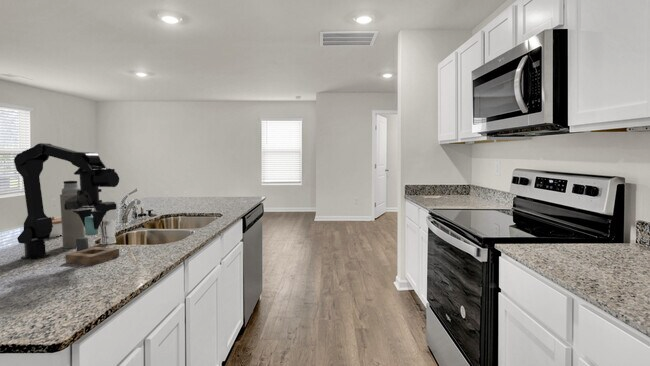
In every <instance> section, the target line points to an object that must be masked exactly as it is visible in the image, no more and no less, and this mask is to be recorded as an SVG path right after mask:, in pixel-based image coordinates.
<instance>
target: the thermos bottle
mask: <svg viewBox="0 0 650 366" xmlns="http://www.w3.org/2000/svg"><path fill="white" fill-rule="evenodd" d="M78 190H80V187H79V185H78V181H77V180H66V181H63V188H62V189H61V194H59V201H60V203H59V204H60V217H61V220H62V248H63V249H74V248H76V239H77V238H83V237H86V235H85V227H84V224H83V222H82V220H81V218H80V216H79V215H78V214H76V213H75V212H73V211H74V209H71V210H65V208H64V204H65V200H67V199H69V198H71V197H73V196H76V195H77V191H78Z"/></svg>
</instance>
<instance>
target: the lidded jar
mask: <svg viewBox="0 0 650 366" xmlns="http://www.w3.org/2000/svg"><path fill="white" fill-rule="evenodd" d="M51 218H52V225H53V227H52V232H51V233H50V237H49V238H57V237H56V236H59V237H61V236H60V235H62V220H61V218H60V217H59V218H55V217H54V216H52V217H51Z"/></svg>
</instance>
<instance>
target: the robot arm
mask: <svg viewBox="0 0 650 366" xmlns="http://www.w3.org/2000/svg"><path fill="white" fill-rule="evenodd" d="M99 155H100V154H98V153H97V152H90V151H89V152H88V151H87V152H85V151H76V150H72V149H68V148H64V147H61V146H57V145H54V144H51V143H45V142H44V143H42V142H40V143H37V144H36V145H34V146H32V147H30V148H27V149H26V150H23V151H22V152H19V153H17V154H16V155H15V156H14V158H13V162H14V166H15V169H16V171H17V172H18V174H19V175H20V176H21V178H22V183H23V189H24V196H25V205H26V212H27V215H26V217H25V220H24V222H23V230H22V232H21V233H20V234H19V235H18V236H17V242H18V244H24V256H23V255H22V256H21V257H20V259H24V260H26V259H27V260H36V259H40V258H44V257H48V256H50V253H47V252H46V250H47V249H46V244H45V243H46V241H45V240H49V239H50V238H51V237H50V233H51V232H52V227H53V225H52V217H51V216H49V217H48V216H47V214H45V211H44V204H43V196H42V195H43V193H42V188H41V187H42V185H41V180H40V179H41V178H40V176H41V174H42V173H43V170H44V163H45V162H47V160H48V159H49V158H50V157H52V158H55V159H58V160H63V161H67V162H70V163H71V164H72V166H75V167H76V168H78V169H76V171H74V172H73V175H79V186H80V187H79V188H80V190H78V191H77V195H76V196H73V197H71V198H69V199H67V200H65V204H64V208H65V210H71V209H74V211H73V212H75V213H76V214H78V215H79V216H80V218H81V220H82V222H83V224H84V228H85V217H89V216H93V222H94V228H95V229H98V230H99V229H100V228H99V226H100V223H101V221H102V219H103V217H104V216H105V214H106V212H107V211H109V210H115V211H116V210H117V203H116V202H115V201H103V200H102V199H100V193H102V188H116V187H117V186H118V185H119V183H120V177H119V174H118V172H117V171H116V170H115V168H114V167H113V168H112V167H111V168H107V167H106V165H105V164H104V162H103V161H102V160H101V159H100V156H99Z"/></svg>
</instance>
